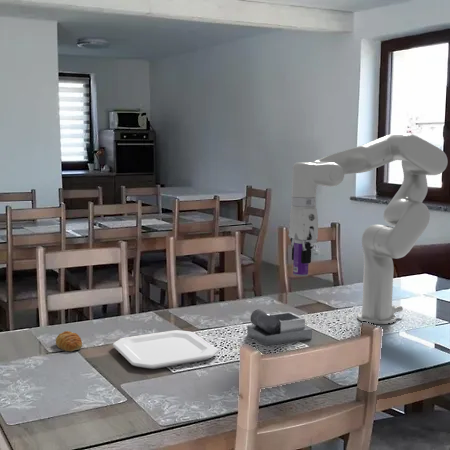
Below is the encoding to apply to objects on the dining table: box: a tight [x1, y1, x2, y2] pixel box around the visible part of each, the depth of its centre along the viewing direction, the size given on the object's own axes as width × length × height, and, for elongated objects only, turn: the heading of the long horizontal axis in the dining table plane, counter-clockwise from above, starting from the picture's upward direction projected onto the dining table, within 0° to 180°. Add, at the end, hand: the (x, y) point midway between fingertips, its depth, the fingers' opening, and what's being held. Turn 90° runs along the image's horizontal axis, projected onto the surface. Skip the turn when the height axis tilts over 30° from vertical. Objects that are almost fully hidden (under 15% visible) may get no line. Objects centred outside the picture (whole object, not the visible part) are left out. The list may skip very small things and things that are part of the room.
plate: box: [112, 329, 219, 370], centre depth 171 cm, size 25×25×2 cm
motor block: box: [246, 309, 313, 347], centre depth 184 cm, size 16×11×8 cm
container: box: [292, 233, 310, 277], centre depth 190 cm, size 5×5×15 cm
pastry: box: [55, 330, 83, 352], centre depth 175 cm, size 9×7×4 cm
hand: (301, 260), depth 190 cm, fingers closed on container, 4 cm apart
